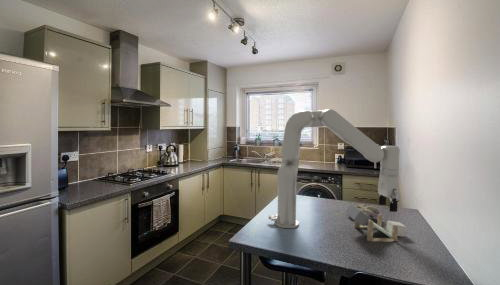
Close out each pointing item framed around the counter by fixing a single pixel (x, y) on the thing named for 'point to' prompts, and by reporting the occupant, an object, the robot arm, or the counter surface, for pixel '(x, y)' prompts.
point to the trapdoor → (362, 218)
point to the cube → (400, 228)
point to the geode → (368, 210)
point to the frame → (371, 227)
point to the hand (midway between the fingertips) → (387, 207)
